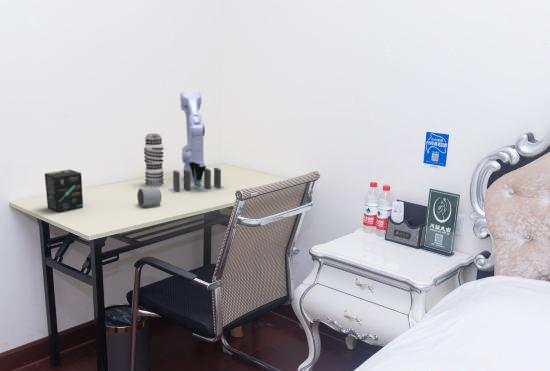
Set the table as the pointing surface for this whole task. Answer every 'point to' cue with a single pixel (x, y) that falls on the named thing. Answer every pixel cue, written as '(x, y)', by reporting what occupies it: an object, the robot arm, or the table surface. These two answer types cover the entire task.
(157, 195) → the grey cylinder
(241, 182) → the table surface
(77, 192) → the tampon box
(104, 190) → the table surface
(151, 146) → the decorative candle
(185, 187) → the black domino
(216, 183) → the black domino
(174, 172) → the black domino
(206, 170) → the black domino
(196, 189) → the sage board
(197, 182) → the teal domino
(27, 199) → the table surface
